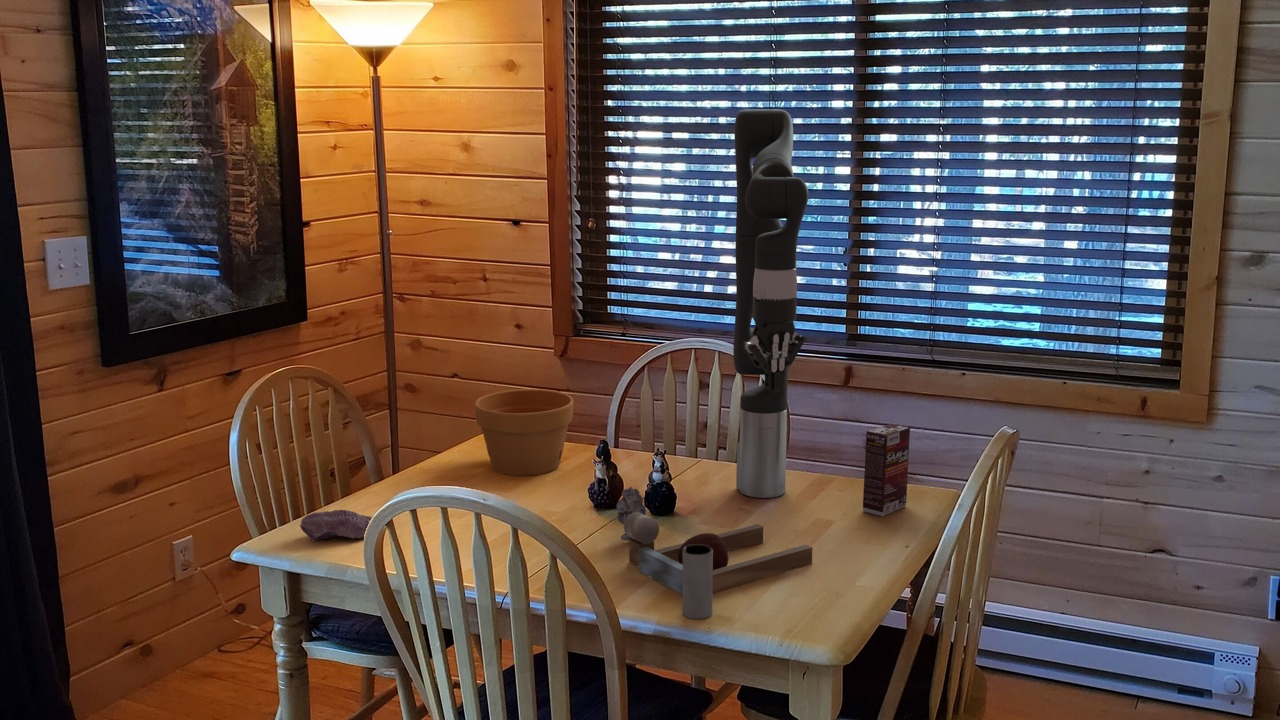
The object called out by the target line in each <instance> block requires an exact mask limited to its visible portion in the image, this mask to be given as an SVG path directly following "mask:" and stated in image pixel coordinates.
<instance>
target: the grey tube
mask: <svg viewBox="0 0 1280 720" xmlns="http://www.w3.org/2000/svg"><path fill="white" fill-rule="evenodd" d="M681 609H682V615H683V616H684V617H686V618H689V619H692V620H704V619H708V618H710V617H711V616H712V615H713V549H712V548H711V547H710V546H707V545H703V544H692V545H688V546H685V547H684V548H683V595H682V608H681Z"/></svg>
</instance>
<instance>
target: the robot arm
mask: <svg viewBox="0 0 1280 720" xmlns="http://www.w3.org/2000/svg"><path fill="white" fill-rule="evenodd" d="M793 148H794V125H793V119H792V117H791V115H790V113H789V112H788V111H786V110H784V109H779V108H778V109H777V108H776V109H775V108H773V109H771V108H769V109H764V108H763V109H761V108H760V109H758V108H757V109H754V108H753V109H751V108H750V109H749V108H748V109H741V110H739V111H737V114H736V115H735V121H734V155H735V157H734V158H735V174H736V175H735V176H736V177H735V178H736V211H735V212H736V215H735V216H736V217H735V279H736V281H735V283H736V285H735V287H736V290H735V291H736V292H735V293H736V295H735V296H736V297H735V300H736V301H735V315H734V329H733V330H734V332H733V347H732V348H733V349H732V350H733V351H732V352H733V354H732V355H733V356H732V357H733V358H732V359H733V365H734V369H735V371H736V373H737V374H738V375H743V376H744V375H745V376H751V375H752V376H754V375H755V376H764V383H763V384H760V385H758V386H756V387H754V388H751V389H748V390H745V391H743V393H742V394H741V395H740V399H739V400H740V402H739V407H740V410H739V411H740V412H739V413H740V415H739V417H740V418H739V420H740V421H739V442H737V443H736V470H735V471H736V481H735V482H736V483H735V485H736V486H735V487H736V489H738V490H739V493H740V494H742V495H744V496H748V497H752V498H759V499H767V498H776V497H780V496H783V495H784V494H785V493H786V476H787V475H786V472H787V425H788V424H787V421H788V420H787V419H788V379H789V378H788V377H789V367H790V366H792V364H793V363H794V361H795V359H796V357H797V355H798V354H799V352H800V350H801V348H802V347H803V345H804V343H805V342H806V337H805V336H803V335H799V333H797V332H796V326H795V323H794V322H795V321H796V320H797V305H798V303H797V300H798V299H797V298H798V278H797V248H798V247H797V246H798V245H797V244H798V238H799V233H800V228H801V225H802V222H803V219H804V215H805V212H806V210H807V206H808V201H809V188H808V186H807V183H806V181H804V180H803V179H802V178H800V177H797V176H796V177H795V176H794V171H793V166H792V159H793V153H794V152H793ZM752 159H754V161H753V164H752ZM781 220H785V223H784V225H783V223H782V221H781ZM752 319H753V321H754V327H752V326H751V324H752Z"/></svg>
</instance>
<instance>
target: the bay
mask: <svg viewBox="0 0 1280 720" xmlns="http://www.w3.org/2000/svg"><path fill="white" fill-rule="evenodd" d="M623 530H624V534H625V533H626V535H627V536H629V537H631V538H633V539H630V540H629V541H628V544H629V545H628V546H629V547H628V549H629V551H628V552H629V553H628V554H629V556H628V557H629V561H630V562H631V563H630V562H629V561H628V562H629V563H630V564H632V563H633V564H632V565H634V564H635V565H634V566H636V565H637V566H636V567H638V566H639V567H638V572H639V571H640V572H639V573H641V572H642V573H641V574H643V573H644V574H646V575H648V576H650V577H652V578H653V579H652V578H651V579H652V580H654V579H655V580H654V581H656V580H657V581H659V582H661V583H663V584H664V586H665V585H666V586H665V587H667V586H668V587H667V588H669V587H670V588H669V589H671V590H672V589H673V591H674V590H675V592H676V591H677V592H676V593H678V592H679V593H678V594H680V593H681V594H680V595H682V594H683V565H682V564H680V563H679V560H678V552H679V550H680V547H681V546H682V544H683V543H684V542H682V543H678V544H674V545H670V546H666V547H662V548H658V549H655V540H656V539H657V537H658V535H659V534H660V526H659V523H658V521H657V520H656V519H654V518H653V517H650V516H648V515H646V514H645V515H644V514H642V513H639V512H634V513H632V514H630V515H629V516H628V517H627V519H626V521H625V523H624V524H623ZM716 535H717V536H719V537H720V538H721V539H722V540H723V542H724V543H725V545H726V549H727V552H728V553H730V552H733V551H737V550H741V549H745V548H748V547H753V546H756V545H761V544H763V543H764V526H763V525H761V524H753V525H750V526H749V525H748V526H746V527H745V526H744V527H741V528H736V529H733V530H729V531H726V532H722V533H717V534H716ZM812 564H813V546H810V545H808V544H803V545H799V546H795V547H791V548H788V549H785V550H782V551H777V552H774V553H770V554H767V555H763V556H760V557H756V558H752V559H748V560H745V561H741V562H738V563H735V564H734V563H733V564H730V565H727V566H726V567H722V568H719V569H715V570H713V593H717V592H720V591H724V590H727V589H730V588H734V587H738V586H741V585H744V584H748V583H751V582H752V583H753V582H755V581H759V580H763V579H766V578H769V577H772V576H776V575H780V574H783V573H786V572H789V571H793V570H794V571H795V570H797V569H801V568H803V567H807V566H810V565H812ZM644 574H643V575H644ZM646 575H645V576H646ZM648 576H647V577H648ZM650 577H649V578H650ZM657 581H656V582H657ZM659 582H658V583H659ZM661 583H660V584H661ZM663 584H662V585H663Z"/></svg>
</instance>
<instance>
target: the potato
mask: <svg viewBox="0 0 1280 720" xmlns="http://www.w3.org/2000/svg"><path fill="white" fill-rule="evenodd" d="M682 543H683V544H682V546H681V547H680V550H679V552H678V560H679V563H680V564H682V565H683V548H684V547H685V546H688V545H692V544H703V545H707V546H710V547H711V548H712V549H713V570H715V569H719V568H722V567H726V566H729V565H728V564H729V552H727V549H726V545H725V543H724V542H723V540H722V539H721V538H720V537H719V536H717V534H715V533H708V532H705V533H698V534H696V535H693V536H692V537H690V538H688V539H687V540H685V541H684V542H682Z"/></svg>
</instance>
